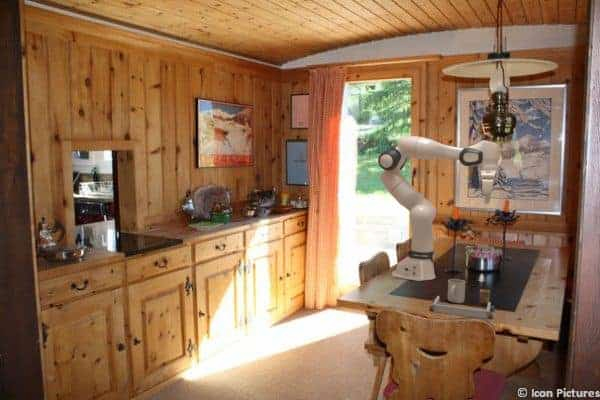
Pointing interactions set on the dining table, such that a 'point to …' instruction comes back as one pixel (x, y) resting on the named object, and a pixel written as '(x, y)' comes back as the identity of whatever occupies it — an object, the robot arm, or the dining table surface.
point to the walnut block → (484, 296)
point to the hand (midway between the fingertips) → (487, 202)
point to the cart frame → (461, 310)
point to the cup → (456, 290)
